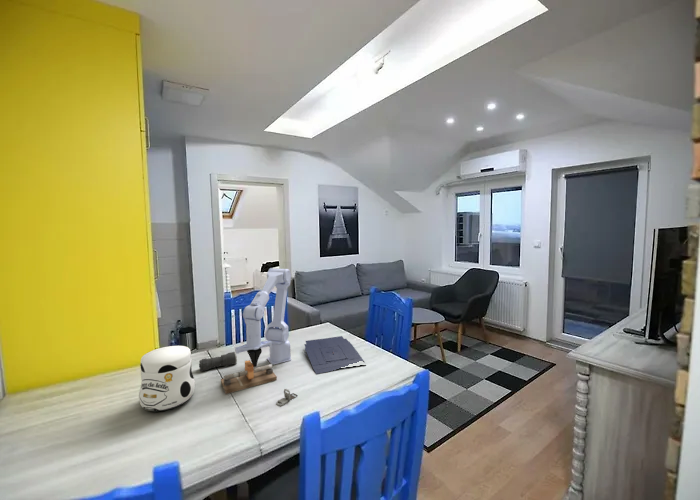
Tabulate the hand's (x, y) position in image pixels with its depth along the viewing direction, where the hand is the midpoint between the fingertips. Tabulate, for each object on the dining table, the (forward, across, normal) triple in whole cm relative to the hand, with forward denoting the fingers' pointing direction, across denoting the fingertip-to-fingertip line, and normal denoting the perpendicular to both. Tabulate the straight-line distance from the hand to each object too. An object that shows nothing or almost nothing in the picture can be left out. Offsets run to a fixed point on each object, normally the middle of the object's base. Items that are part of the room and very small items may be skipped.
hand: (254, 366), depth 124 cm
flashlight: (+6, -10, +21) cm, 24 cm away
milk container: (+6, -31, +1) cm, 31 cm away
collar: (+4, -2, 0) cm, 4 cm away
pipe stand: (+6, -2, 0) cm, 6 cm away
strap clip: (+6, +6, -21) cm, 23 cm away
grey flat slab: (+6, +38, +2) cm, 39 cm away
